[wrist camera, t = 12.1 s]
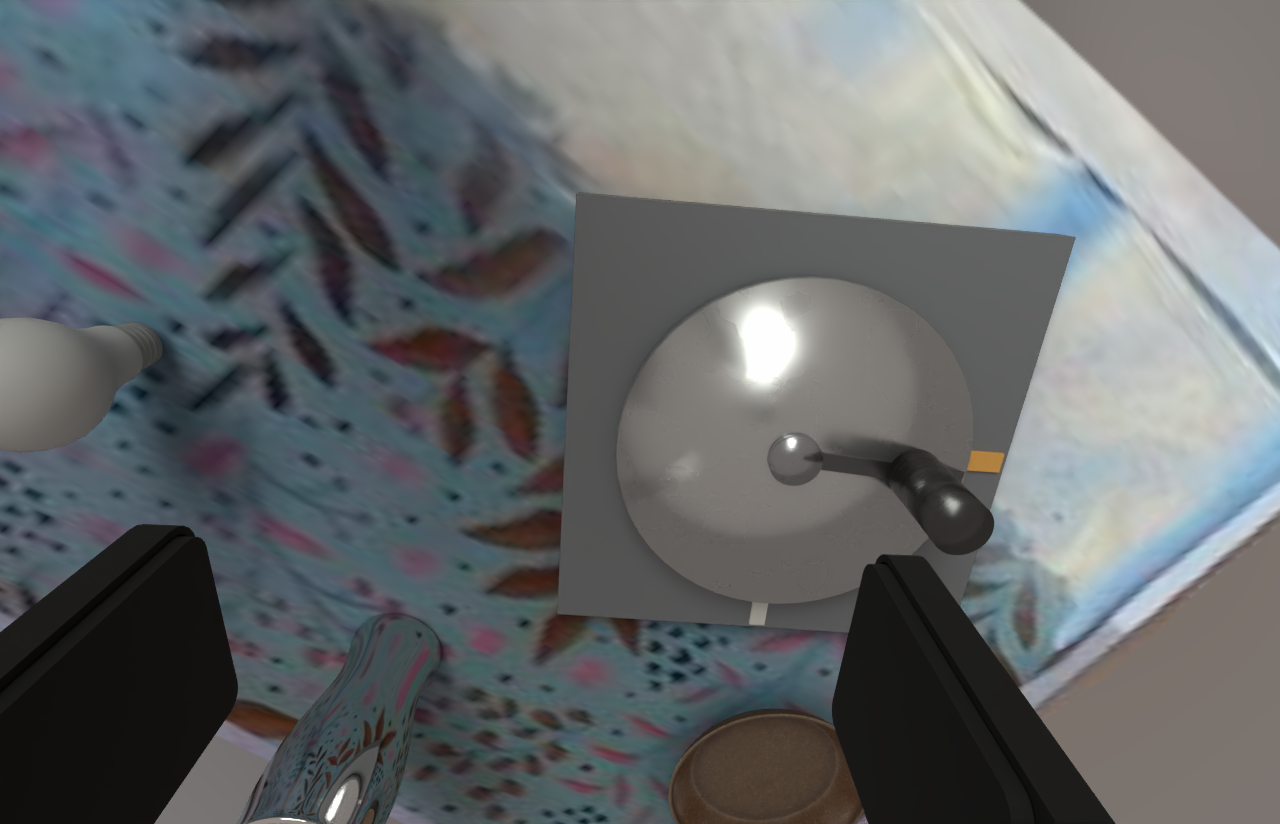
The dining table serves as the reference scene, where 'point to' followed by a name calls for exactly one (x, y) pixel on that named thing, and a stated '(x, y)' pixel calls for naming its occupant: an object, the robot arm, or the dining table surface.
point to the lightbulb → (64, 378)
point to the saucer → (765, 773)
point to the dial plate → (735, 256)
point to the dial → (798, 441)
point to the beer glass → (352, 733)
